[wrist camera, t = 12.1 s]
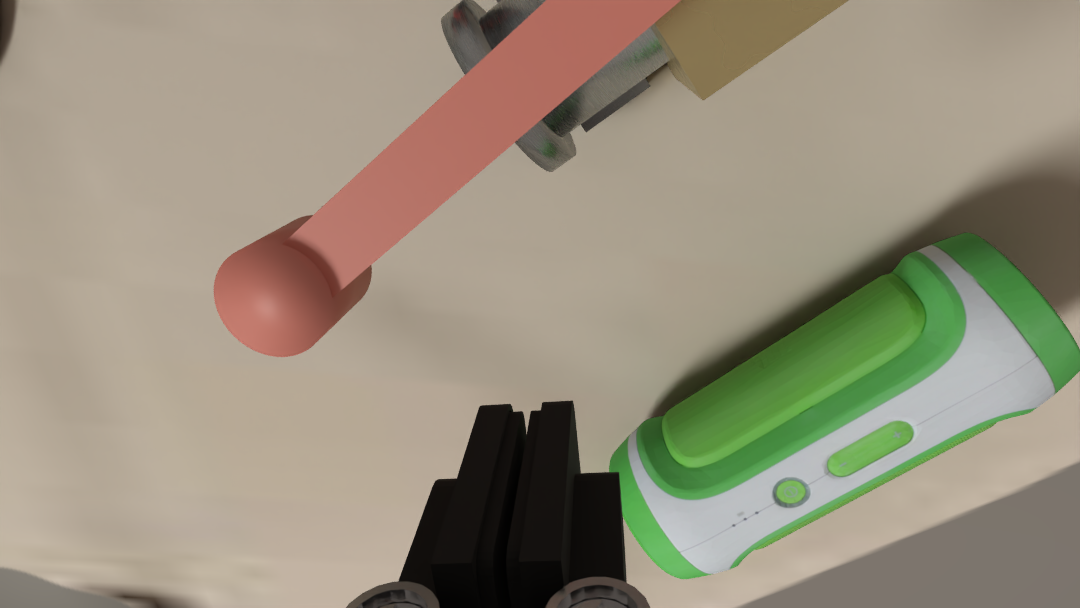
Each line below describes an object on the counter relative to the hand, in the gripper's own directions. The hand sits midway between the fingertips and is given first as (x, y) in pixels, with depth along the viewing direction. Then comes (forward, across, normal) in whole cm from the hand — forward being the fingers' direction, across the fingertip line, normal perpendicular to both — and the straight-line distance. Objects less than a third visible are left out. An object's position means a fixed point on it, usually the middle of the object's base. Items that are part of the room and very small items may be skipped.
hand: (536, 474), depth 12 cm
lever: (+9, +1, -6) cm, 11 cm away
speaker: (+20, -10, +9) cm, 24 cm away
